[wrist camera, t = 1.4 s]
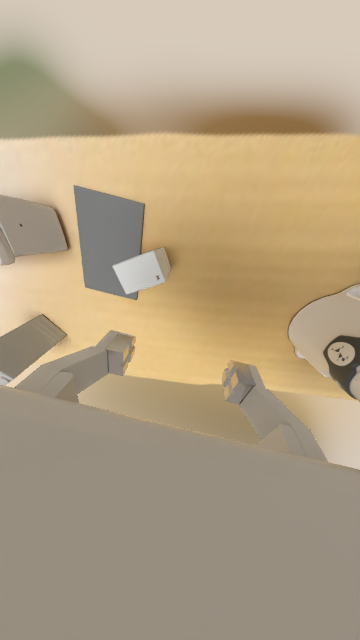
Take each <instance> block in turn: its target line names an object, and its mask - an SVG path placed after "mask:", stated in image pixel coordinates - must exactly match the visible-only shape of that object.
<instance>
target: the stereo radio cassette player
mask: <svg viewBox="0 0 360 640" xmlns="http://www.w3.org/2000/svg"><path fill="white" fill-rule="evenodd" d="M65 250H68V248H67V244H66V240H65V237H64V234H63V231H62V228H61V225H60V222H59V220H58V217H57V215H56V212H55V211H54V209H53V208H51V207H49V206H45V205H42V204H38V203H34V202H30V201H26V200H22V199H18V198H13V197H8V196H2V195H0V265H9V264H12V263H14V262H15V257H17V256H25V255H33V254H41V253H50V252H58V251H65Z"/></svg>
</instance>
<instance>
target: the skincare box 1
mask: <svg viewBox="0 0 360 640" xmlns="http://www.w3.org/2000/svg"><path fill="white" fill-rule="evenodd" d="M65 336H66V334H65V333H64V332H63V331H62V330H60V329H59V328H58V327H57V326H55V325H54V324H53V323H52V322H51V321H49V320H48V319H47V318H46V317H44V316H43V315H40V316H38V317H36V318H34V319H32V320H30V321H29V322H27V323H25V324H23V325H21V326H20V327H18V328H16V329H14V330H12V331H10V332H9V333H7V334H5V335H3V336H1V337H0V385H3V386H4V385H6V384H7V383H9V382H11V381H12V380H13V379H15V377H17V376H18V375H19V374H20V373H22V372H23V371H24V370H25V369H26V368H28V367H29V366H30V365H31V364H33V363H34V362H35V361H36V360H37V359H39V358H40V357H41V356H42V355H43V354H45V353H46V352H47V351H48V350H50V349H51V348H52V347H53V346H54V345H56V344H57V343H58V342H59V341H61V340H62V339H63V338H64V337H65Z"/></svg>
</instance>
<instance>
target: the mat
mask: <svg viewBox="0 0 360 640" xmlns="http://www.w3.org/2000/svg"><path fill="white" fill-rule="evenodd" d="M74 194H75V202H76V211H77V220H78V229H79V238H80V247H81V256H82V265H83V273H84V282H85V287H86V288H90V289H94V290H98V291H102V292H106V293H110V294H114V295H118V296H122V297H126V298H130V299H134V300H137V296H138V291H137V292H133V293H130V294H126V293H125V291H124V289H123V287H122V285H121V283H120V281H119V279H118V277H117V275H116V273H115V271H114V269H113V267H112V266H113V265H115V264H118V263H120V262H123V261H125V260H128V259H130V258H133V257H135V256H138V255H141V245H142V233H143V220H144V207H145V204H143V203H139V202H135V201H132V200H128V199H124V198H120V197H116V196H113V195H109V194H105V193H101V192H97V191H94V190H90V189H86V188H82V187H78V186H74Z"/></svg>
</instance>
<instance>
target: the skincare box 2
mask: <svg viewBox="0 0 360 640" xmlns="http://www.w3.org/2000/svg"><path fill="white" fill-rule="evenodd" d="M112 267H113V269H114V271H115V273H116V275H117V277H118V279H119V281H120V283H121V285H122V287H123V289H124V291H125V293H126V294H130V293H133V292H137V291H140V290H144V289H147V288H150V287H153V286H156V285H159V284H162V283H164V282H166V280H167V278H168V275H169V273H170V270H171V266H170V263H169V260H168V257H167V254H166V251H165V248H164V247H163V248H159V249H156V250H153V251H150V252H146V253H144V254H141V255H138V256H135V257H133V258H130V259H128V260H125V261H123V262H120V263H118V264H115V265H113V266H112Z"/></svg>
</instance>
